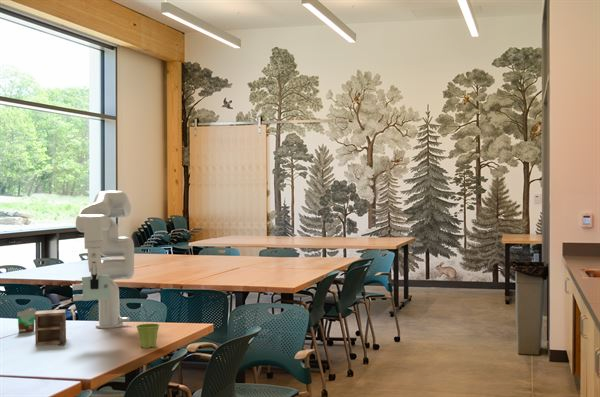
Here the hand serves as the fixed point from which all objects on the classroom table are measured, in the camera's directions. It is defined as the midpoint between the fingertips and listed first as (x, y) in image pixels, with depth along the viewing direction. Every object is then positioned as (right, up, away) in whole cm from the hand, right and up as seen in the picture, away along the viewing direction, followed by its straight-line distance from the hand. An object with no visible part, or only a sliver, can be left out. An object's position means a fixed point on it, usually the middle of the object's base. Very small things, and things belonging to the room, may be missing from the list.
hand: (94, 288), depth 326 cm
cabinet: (-19, -23, +1) cm, 30 cm away
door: (-1, -5, 0) cm, 5 cm away
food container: (-38, -24, +31) cm, 55 cm away
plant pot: (+25, -23, -10) cm, 35 cm away
